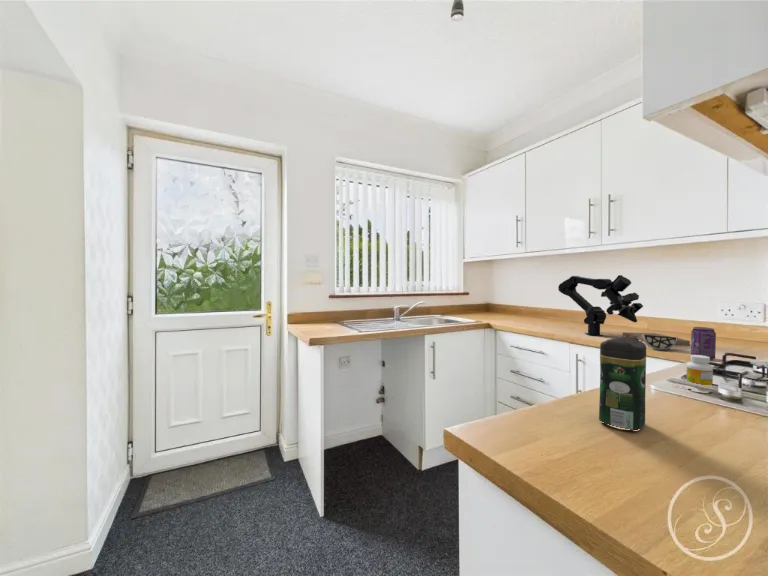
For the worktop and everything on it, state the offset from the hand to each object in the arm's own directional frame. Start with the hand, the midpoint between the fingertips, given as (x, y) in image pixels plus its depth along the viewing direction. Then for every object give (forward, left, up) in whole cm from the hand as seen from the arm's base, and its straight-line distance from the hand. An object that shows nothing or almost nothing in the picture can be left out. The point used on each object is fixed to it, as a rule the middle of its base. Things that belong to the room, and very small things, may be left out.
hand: (636, 321), depth 167 cm
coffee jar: (+99, -66, -10) cm, 119 cm away
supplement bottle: (+74, -30, -10) cm, 81 cm away
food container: (+10, +3, -8) cm, 13 cm away
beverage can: (+33, +4, -10) cm, 34 cm away
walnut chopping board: (-7, +13, -10) cm, 18 cm away
